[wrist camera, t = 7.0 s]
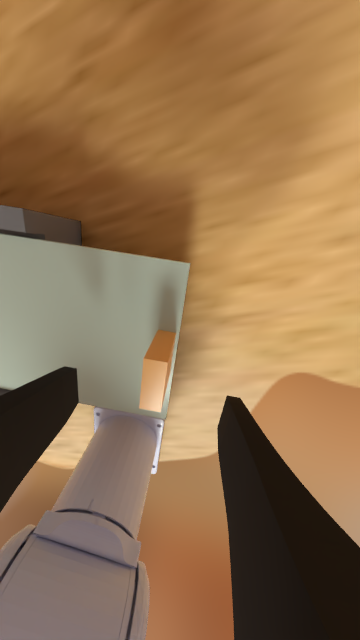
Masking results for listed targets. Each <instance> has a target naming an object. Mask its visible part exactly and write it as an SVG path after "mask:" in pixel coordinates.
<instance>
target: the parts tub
mask: <svg viewBox="0 0 360 640" xmlns="http://www.w3.org/2000/svg"><path fill="white" fill-rule="evenodd" d="M0 233H4V234H10V235H16V236H23V237H29V238H35V239H42V240H48V241H55V242H61V243H67V244H74V245H80V246H82V241H81V221H76V220H72V219H67V218H63V217H58V216H54V215H50V214H45V213H41V212H36V211H32V210H27V209H23V208H16V207H10V206H3V205H0ZM10 391H12V390H7V389H2V388H0V395H3V394H5V393H7V392H10Z"/></svg>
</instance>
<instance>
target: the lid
mask: <svg viewBox="0 0 360 640" xmlns="http://www.w3.org/2000/svg"><path fill="white" fill-rule="evenodd" d="M189 270H190V263H188V262H182V261H175V260H169V259H163V258H156V257H150V256H144V255H137V254H131V253H125V252H118V251H112V250H105V249H99V248H93V247H86V246H80V245H74V244H67V243H61V242H55V241H48V240H42V239H35V238H29V237H23V236H16V235H10V234H4V233H0V388H2V389H7V390H14V389H16V388H18V387H20V386H22V385H25V384H27V383H29V382H31V381H33V380H35V379H37V378H40V377H42V376H44V375H46V374H48V373H50V372H52V371H55V370H57V369H59V368H61V367H64V366H66V367H72V368H77V379H78V397H79V402H78V403H81V404H87V405H92V406H97V407H102V408H108V409H113V410H118V411H124V412H129V413H134V414H139V415H145V416H150V417H155V418H161V419H166V415H167V410H168V403H169V397H170V390H171V384H172V378H173V371H174V365H175V359H176V352H177V346H178V340H179V333H180V327H181V320H182V314H183V308H184V301H185V295H186V289H187V282H188V276H189Z"/></svg>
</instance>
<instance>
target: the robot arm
mask: <svg viewBox="0 0 360 640" xmlns="http://www.w3.org/2000/svg"><path fill="white" fill-rule="evenodd" d="M78 402H79V397H78V379H77V368H72V367H66V366H64V367H61V368H59V369H57V370H55V371H52V372H50V373H48V374H46V375H44V376H42V377H40V378H37V379H35V380H33V381H31V382H29V383H27V384H25V385H22V386H20V387H18V388H16V389H14V390H12V391H10V392H7V393H5V394H3V395H0V512H1V511H2V509H3V508H4V506H5V505H6V503H7V502H8V500H9V498H10V497H11V495H12V494H13V493H14V491H15V490H16V488H17V487H18V485H19V484H20V483H21V481H22V480H23V478H24V477H25V476H26V474H27V473H28V472H29V470H30V469H31V468H32V467H33V465H34V464H35V463H36V461H37V460H38V459H39V458H40V456H41V455H42V454H43V452H44V451H45V450H46V448H47V447H48V446H49V445H50V443H51V442H52V441H53V439H54V438H55V437H56V436H57V434H58V433H59V432H60V430H61V429H62V428H63V426H64V425H65V424H66V422H67V421H68V419H69V417H70V416H71V414H72V413H73V411H74V409H75V407H76V406H77V404H78ZM163 427H164V419H161V418H155V417H150V416H145V415H139V414H134V413H129V412H124V411H118V410H113V409H108V408H102V407H97V406H95V408H94V436H93V438H92V439H91V441H90V443H89V445H88V446H87V448H86V450H85V452H84V453H83V455H82V457H81V459H80V461H79V462H78V464H77V466H76V468H75V469H74V471H73V473H72V475H71V476H70V478H69V480H68V482H67V484H66V486H65V487H64V489H63V491H62V492H61V495H60V496H59V498H58V500H57V501H56V503H55V505H54V507H53V508H52V510H51V511H49V510H46V512H45V513H44V515H43V517H42V518H41V520H40V522H39V523H38V525H37V526H34V525H31V524H30V525H27V526H26V527H25V528H23V529H22V530H21V531H19V532H18V533H16V534H15V535H13V536H12V537H11V538H10V539H9V540H8V541H7V542H6V544H5V545H4V546H3V547H2V548H1V550H0V640H145V636H146V629H147V621H148V610H149V592H150V591H149V590H150V589H149V580H148V576H147V573H146V567H145V564H144V563H143V562H141V561H138V557H139V552H140V547H141V542H139V541H137V535H138V531H139V526H140V521H141V517H142V512H143V508H144V503H145V498H146V494H147V489H148V484H149V480H150V475H151V474H155V473H156V472H157V466H158V459H159V453H160V446H161V440H162V433H163ZM218 454H219V462H220V468H221V477H222V483H223V490H224V499H225V505H226V513H227V522H228V531H229V546H230V562H231V578H232V599H233V618H234V640H360V547H359V546H358V545H357V544H356V543H355V542H354V541H353V540H352V539H351V538H350V537H349V536H348V534H346V532H345V531H344V530H343V529H342V528H340V526H339V525H338V524H337V523H336V522H335V521H334V520H333V518H332V517H331V516H330V515H329V514H328V513H327V512H326V511H325V510H324V509H323V507H322V506H321V505H320V504H319V503H318V502H317V501H316V499H315V498H314V497H313V496H312V495H311V494H310V492H309V491H308V490H307V489H306V488H305V487H304V485H302V483H301V482H300V481H299V479H298V478H297V477H296V476H295V474H294V473H293V472H292V471H291V470H290V468H289V467H288V466H287V464H286V463H285V462H284V460H283V459H282V458H281V457H280V455H279V454H278V453H277V451H276V450H275V449H274V447H273V446H272V444H271V443H270V441H269V440H268V439H267V437H266V436H265V434H264V433H263V432H262V430H261V429H260V427H259V426H258V424H257V423H256V421H255V420H254V418H253V417H252V415H251V414H250V412H249V411H248V409H247V408H246V406H245V405H244V403H243V402H242V400H241V399H240V398H237V397H232V396H227V397H226V401H225V404H224V407H223V411H222V414H221V418H220V421H219V425H218Z"/></svg>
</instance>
